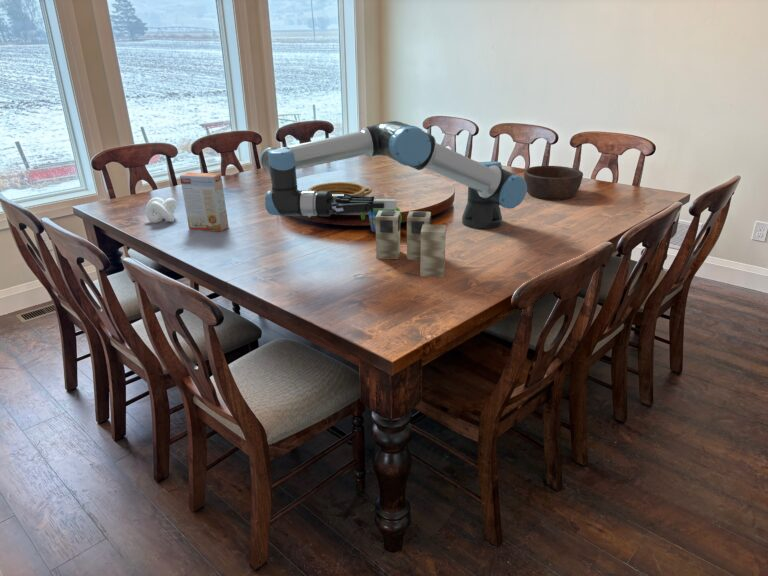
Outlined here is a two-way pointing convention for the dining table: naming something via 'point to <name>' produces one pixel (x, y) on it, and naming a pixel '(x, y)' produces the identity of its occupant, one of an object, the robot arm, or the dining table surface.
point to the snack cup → (373, 215)
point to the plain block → (432, 250)
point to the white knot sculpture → (160, 209)
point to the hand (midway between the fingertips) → (395, 204)
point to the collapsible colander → (342, 188)
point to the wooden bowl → (552, 182)
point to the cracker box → (204, 201)
